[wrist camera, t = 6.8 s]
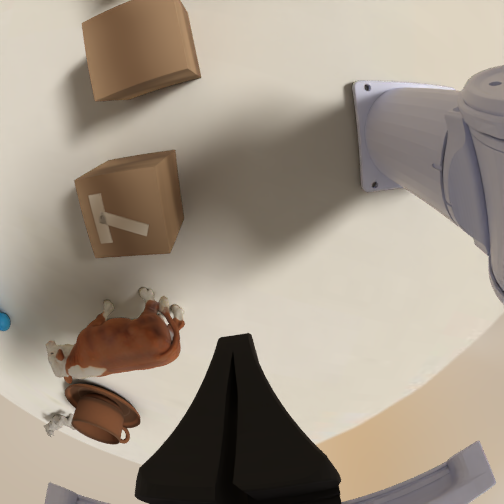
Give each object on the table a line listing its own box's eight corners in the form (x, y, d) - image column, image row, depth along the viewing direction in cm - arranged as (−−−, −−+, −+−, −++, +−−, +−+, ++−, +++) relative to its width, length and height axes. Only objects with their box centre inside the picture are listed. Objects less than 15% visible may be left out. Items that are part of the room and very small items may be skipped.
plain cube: (187, 13, 12) (171, -14, 8) (201, 77, 15) (187, 68, 11) (117, 37, 13) (81, 23, 8) (129, 99, 15) (95, 101, 11)
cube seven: (175, 149, 17) (154, 166, 13) (184, 217, 20) (169, 254, 15) (109, 160, 17) (73, 181, 13) (122, 223, 20) (94, 258, 15)
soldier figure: (89, 419, 39) (70, 440, 40) (77, 398, 41) (59, 422, 41) (60, 426, 32) (44, 448, 32) (47, 403, 34) (33, 427, 34)
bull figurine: (64, 299, 23) (29, 359, 16) (183, 275, 22) (163, 354, 15) (85, 330, 25) (58, 391, 18) (200, 315, 24) (190, 392, 17)
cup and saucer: (155, 405, 33) (149, 443, 28) (125, 424, 37) (119, 454, 32) (78, 364, 29) (63, 402, 23) (62, 391, 33) (51, 421, 27)
